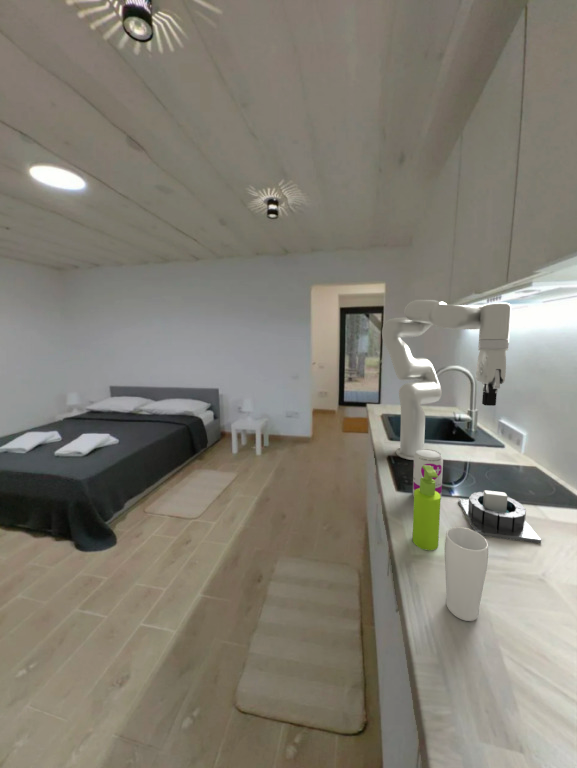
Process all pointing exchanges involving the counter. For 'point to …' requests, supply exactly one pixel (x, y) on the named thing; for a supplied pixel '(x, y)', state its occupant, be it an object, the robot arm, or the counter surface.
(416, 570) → the counter surface
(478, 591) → the drinking glass
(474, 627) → the counter surface
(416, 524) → the soap dispenser
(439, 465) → the supplement can
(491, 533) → the segmented ring on plate
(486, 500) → the cap
